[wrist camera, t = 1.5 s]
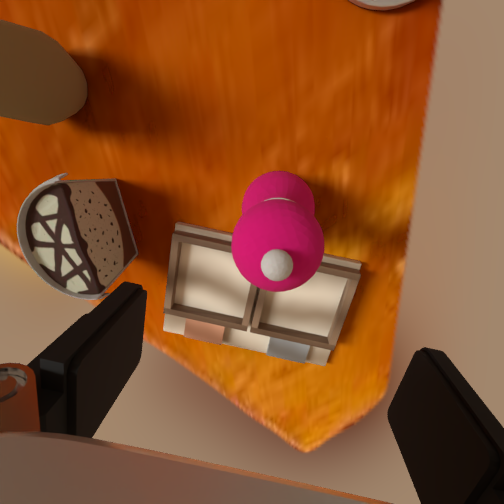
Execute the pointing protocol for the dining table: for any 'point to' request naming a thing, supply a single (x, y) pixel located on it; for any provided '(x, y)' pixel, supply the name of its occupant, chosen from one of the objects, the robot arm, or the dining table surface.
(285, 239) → the pepper mill
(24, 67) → the squeeze bottle
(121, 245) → the food container
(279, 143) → the dining table surface
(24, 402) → the robot arm
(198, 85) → the dining table surface
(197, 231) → the holder board
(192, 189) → the dining table surface
